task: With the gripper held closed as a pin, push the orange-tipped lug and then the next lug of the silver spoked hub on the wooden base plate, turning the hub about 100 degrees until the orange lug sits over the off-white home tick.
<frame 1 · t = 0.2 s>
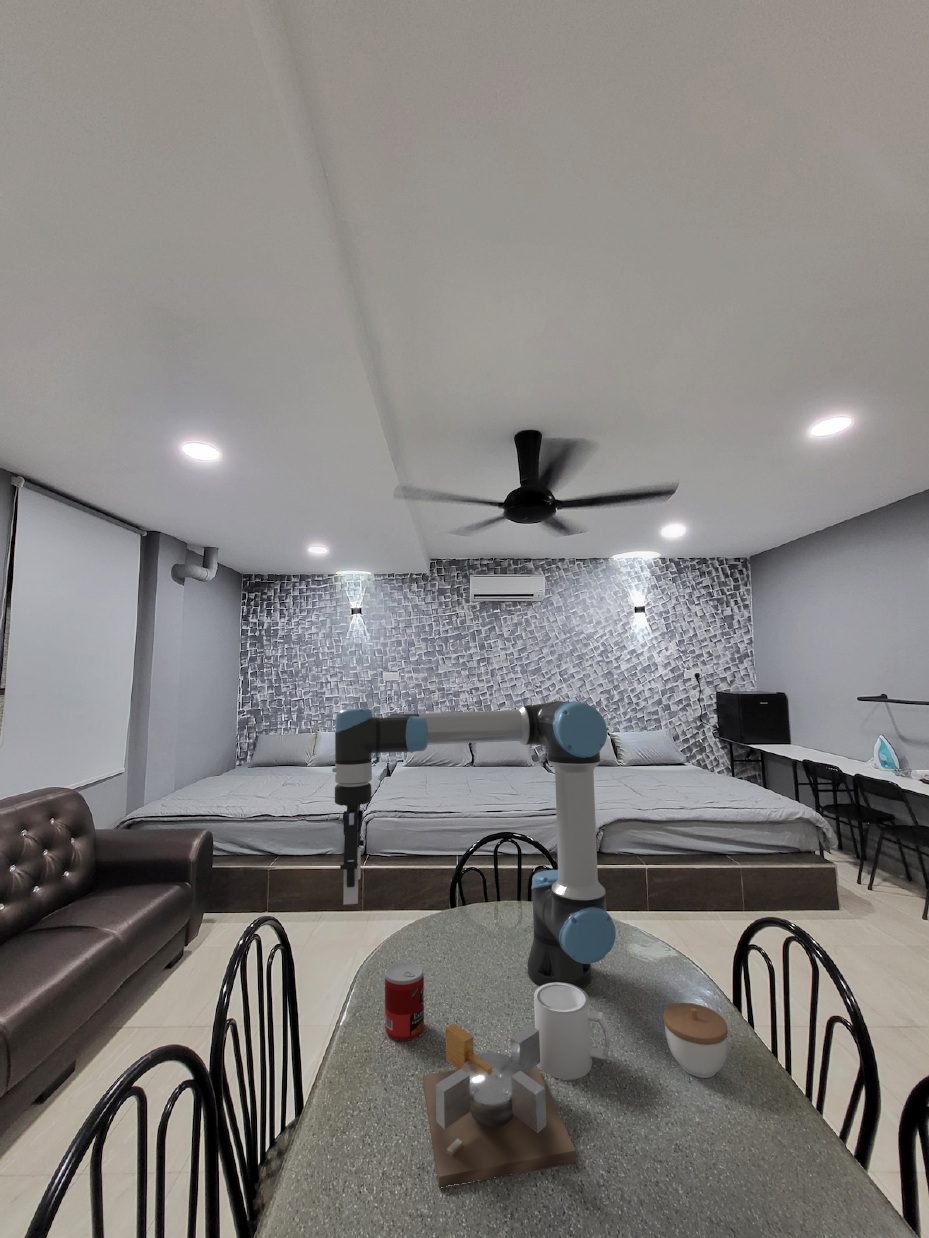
hand: (352, 890, 109), 28 cm above the table, fingers open, 13 cm apart
lidded jar: (697, 1067, 96), on the table
silver spoked hub: (491, 1072, 86), point 7 cm above the table, hinge at 0.0°
wooden base plate: (492, 1119, 85), on the table
canned food: (404, 1030, 108), on the table
mug: (569, 1062, 98), on the table
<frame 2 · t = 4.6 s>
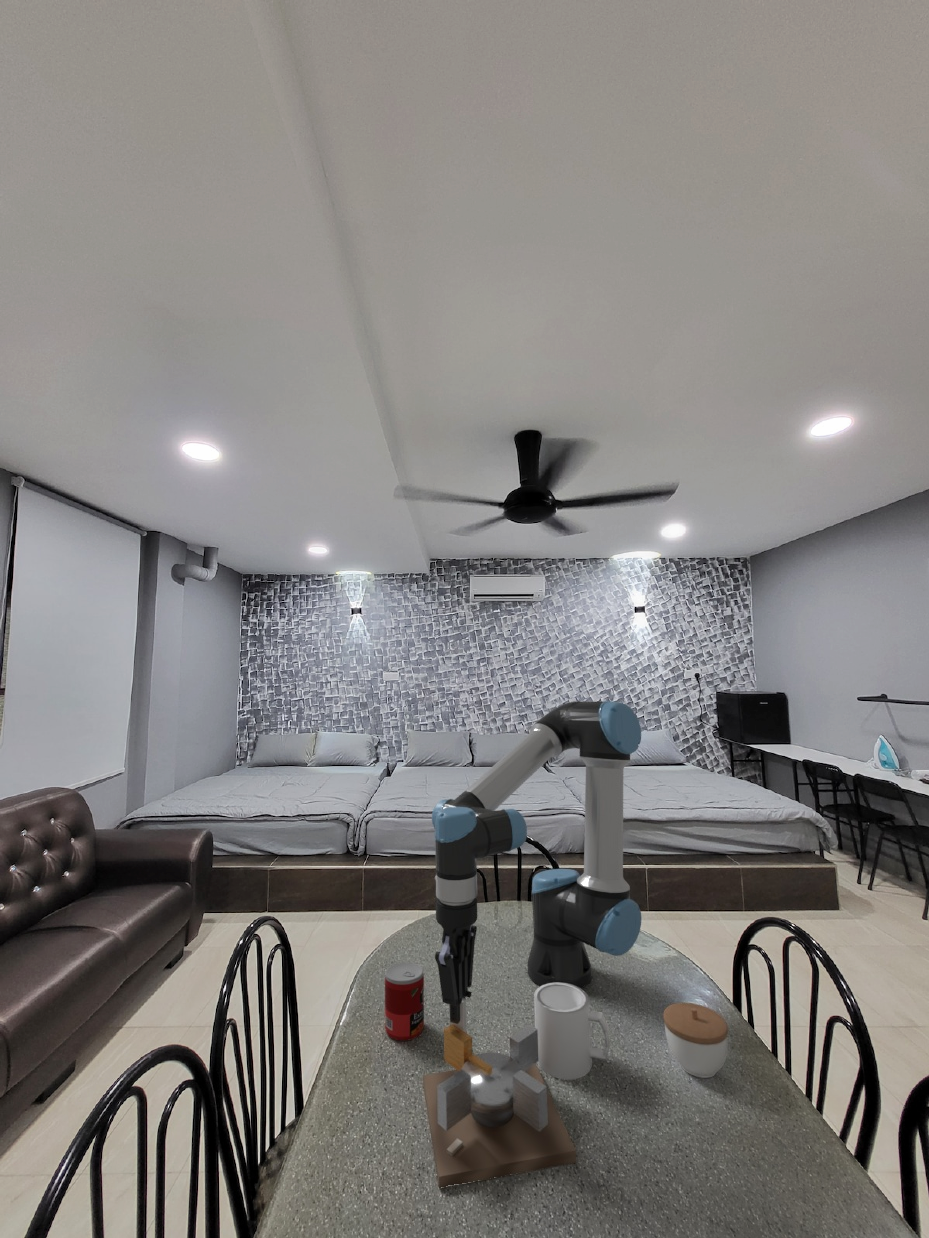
hand: (458, 1038, 94), 7 cm above the table, fingers closed
silver spoked hub: (491, 1072, 86), point 7 cm above the table, hinge at 2.3°, touching gripper
everything else where it was.
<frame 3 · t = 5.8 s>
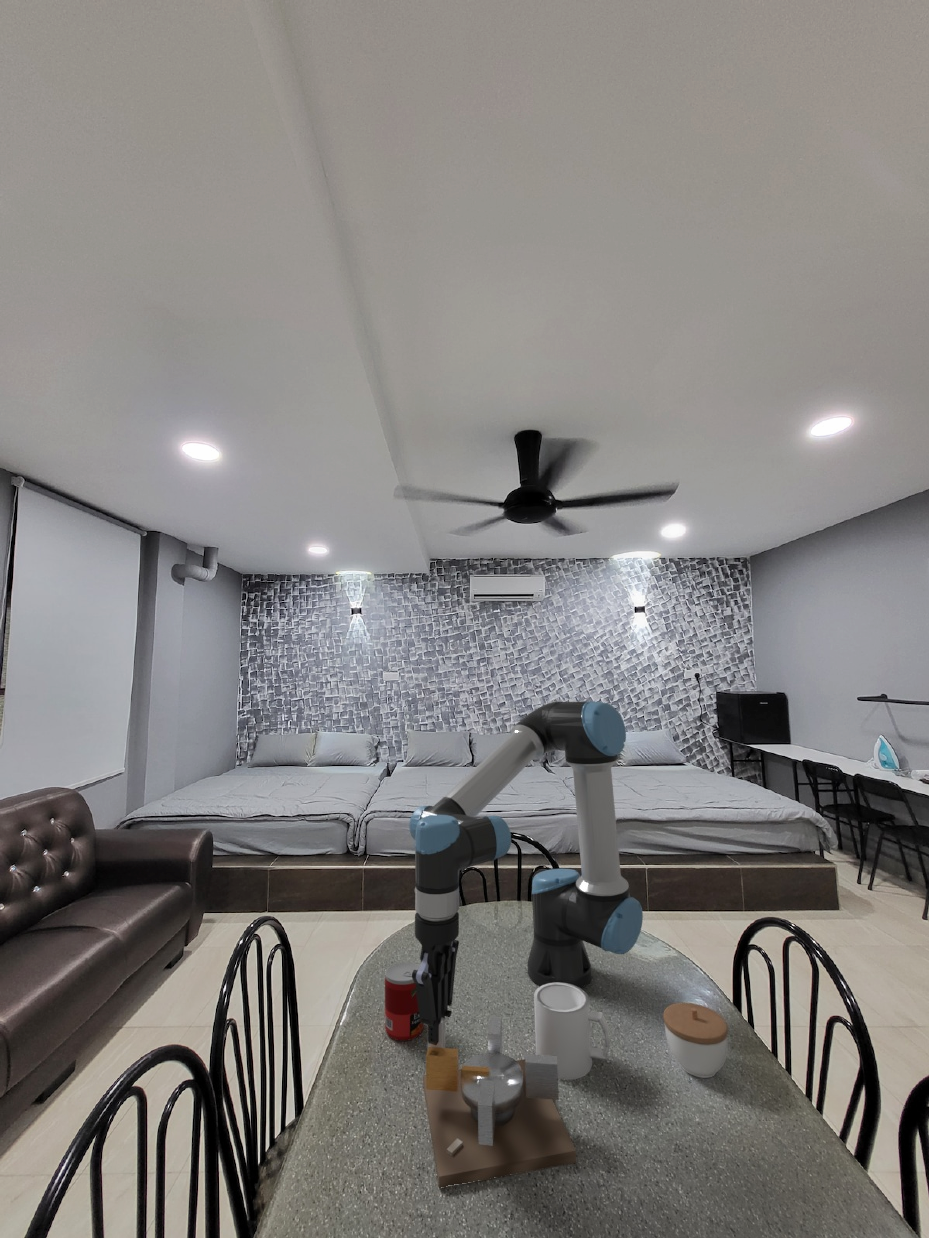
hand: (436, 1059, 89), 7 cm above the table, fingers closed
silver spoked hub: (491, 1072, 86), point 7 cm above the table, hinge at 41.7°, touching gripper
everything else where it was.
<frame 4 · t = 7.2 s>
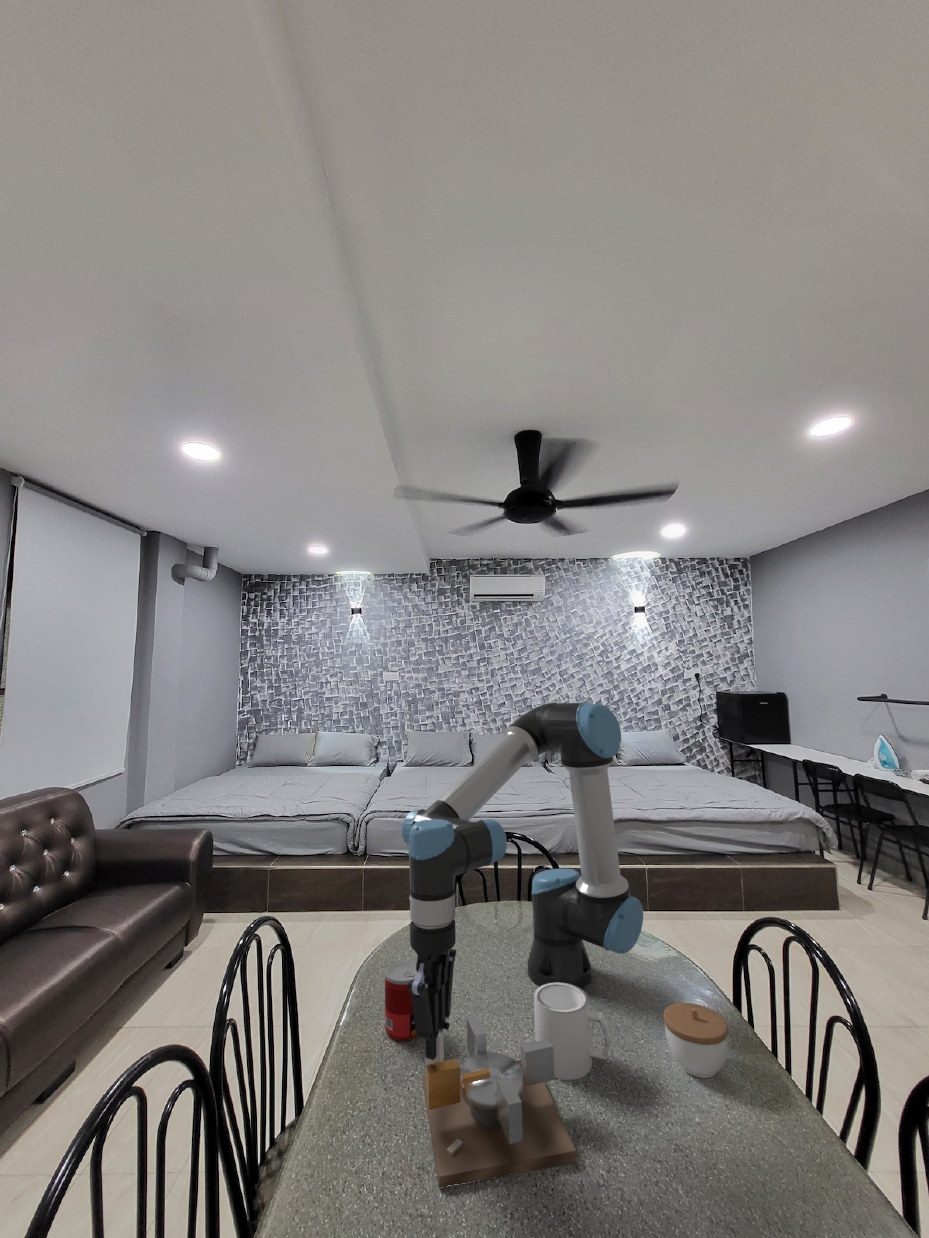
hand: (434, 1075, 85), 7 cm above the table, fingers closed
silver spoked hub: (491, 1072, 86), point 7 cm above the table, hinge at 65.4°, touching gripper
everything else where it was.
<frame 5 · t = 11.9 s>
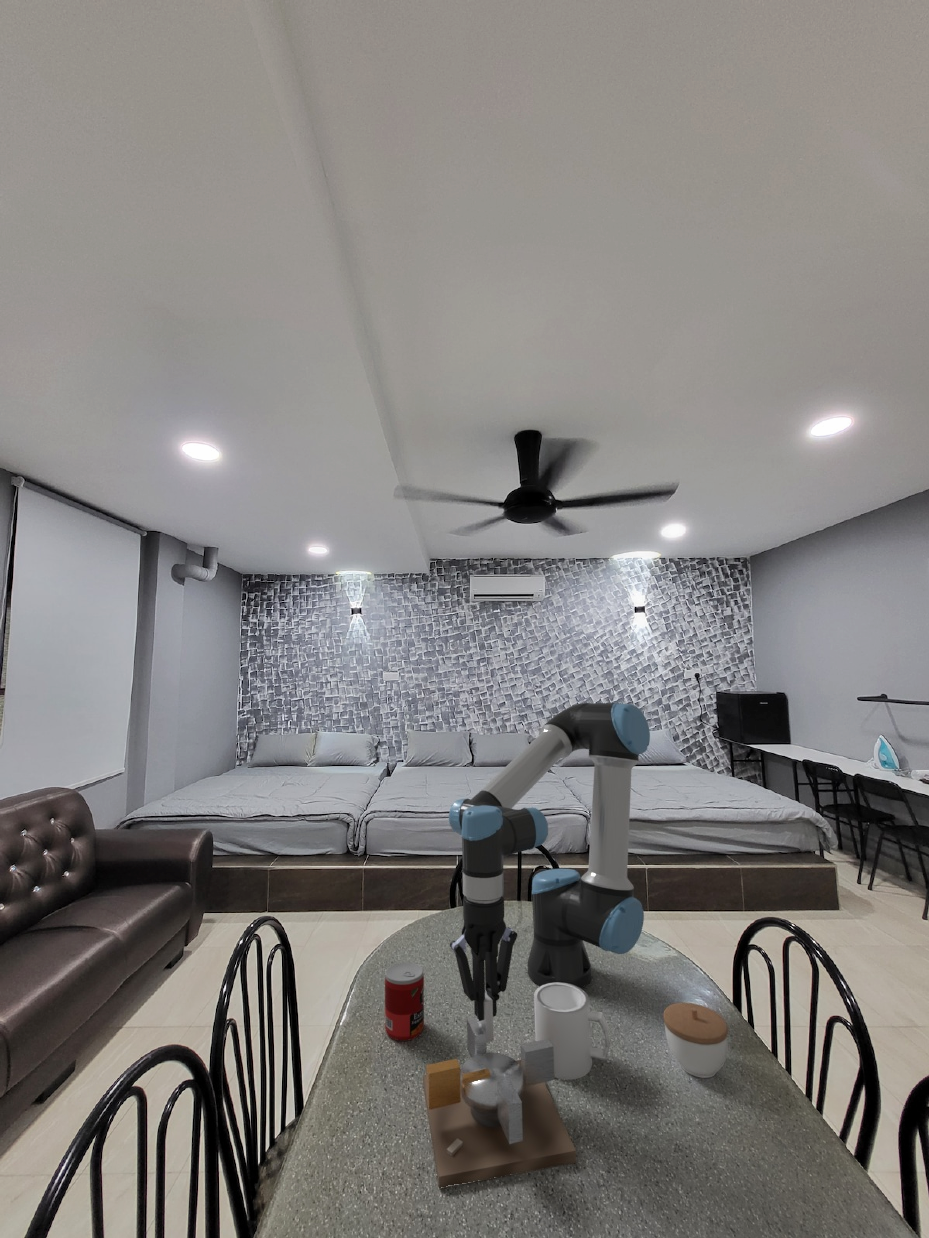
hand: (486, 1036, 94), 7 cm above the table, fingers closed
nothing on the table moved.
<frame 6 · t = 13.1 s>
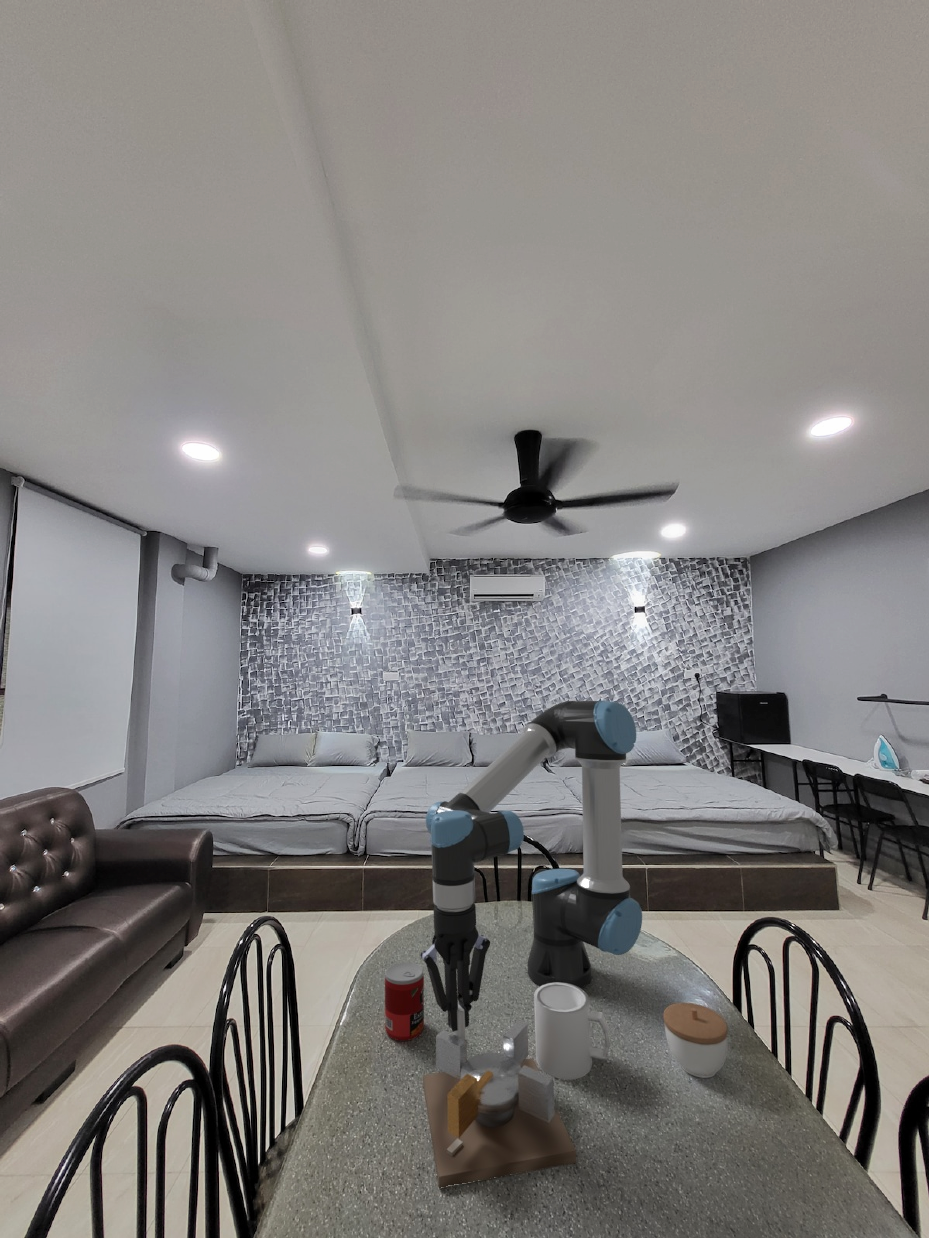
hand: (459, 1047, 92), 7 cm above the table, fingers closed
silver spoked hub: (491, 1072, 86), point 7 cm above the table, hinge at 104.5°, touching gripper
everything else where it was.
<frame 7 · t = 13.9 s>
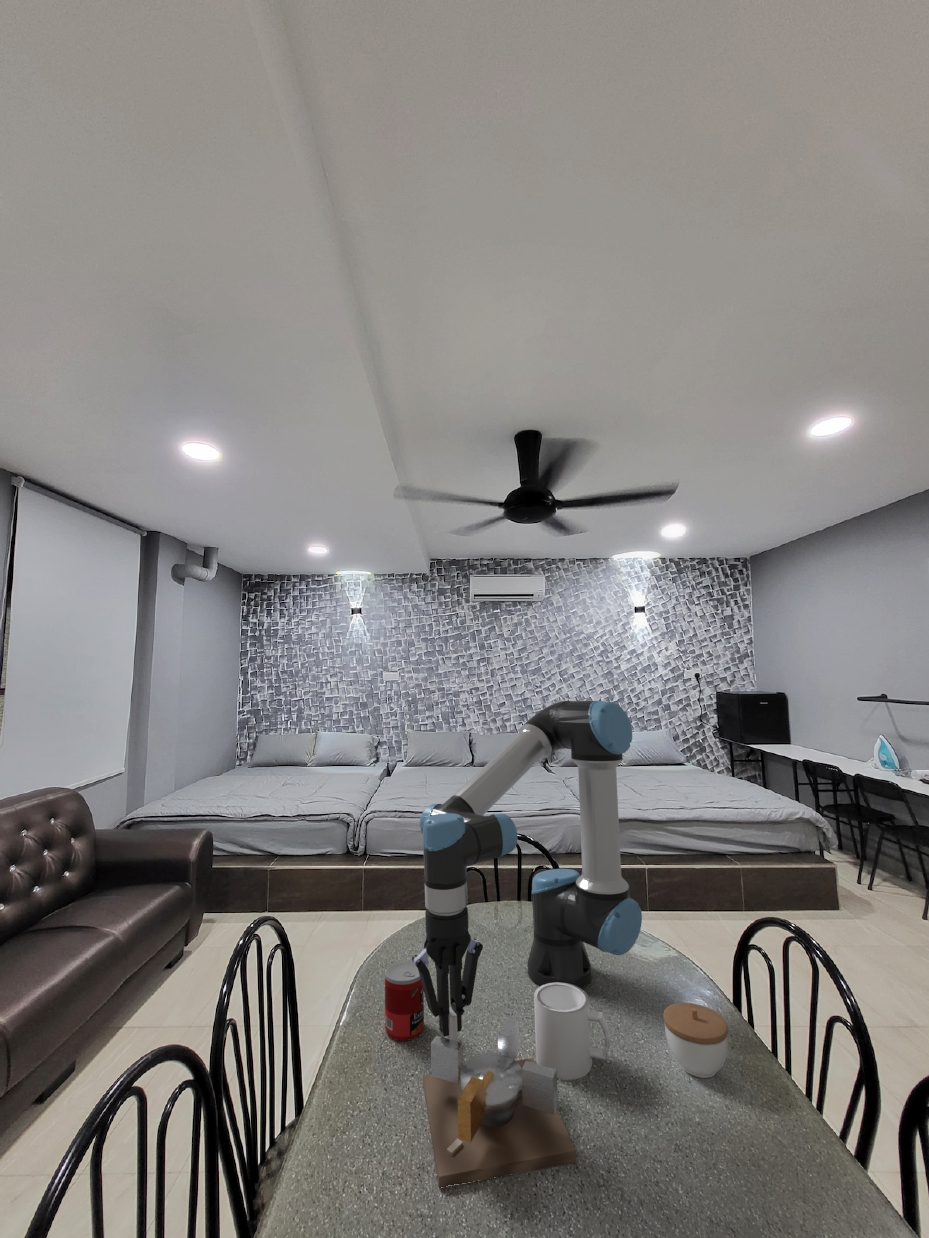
hand: (451, 1052, 91), 6 cm above the table, fingers closed
silver spoked hub: (491, 1072, 86), point 7 cm above the table, hinge at 114.5°, touching gripper
everything else where it was.
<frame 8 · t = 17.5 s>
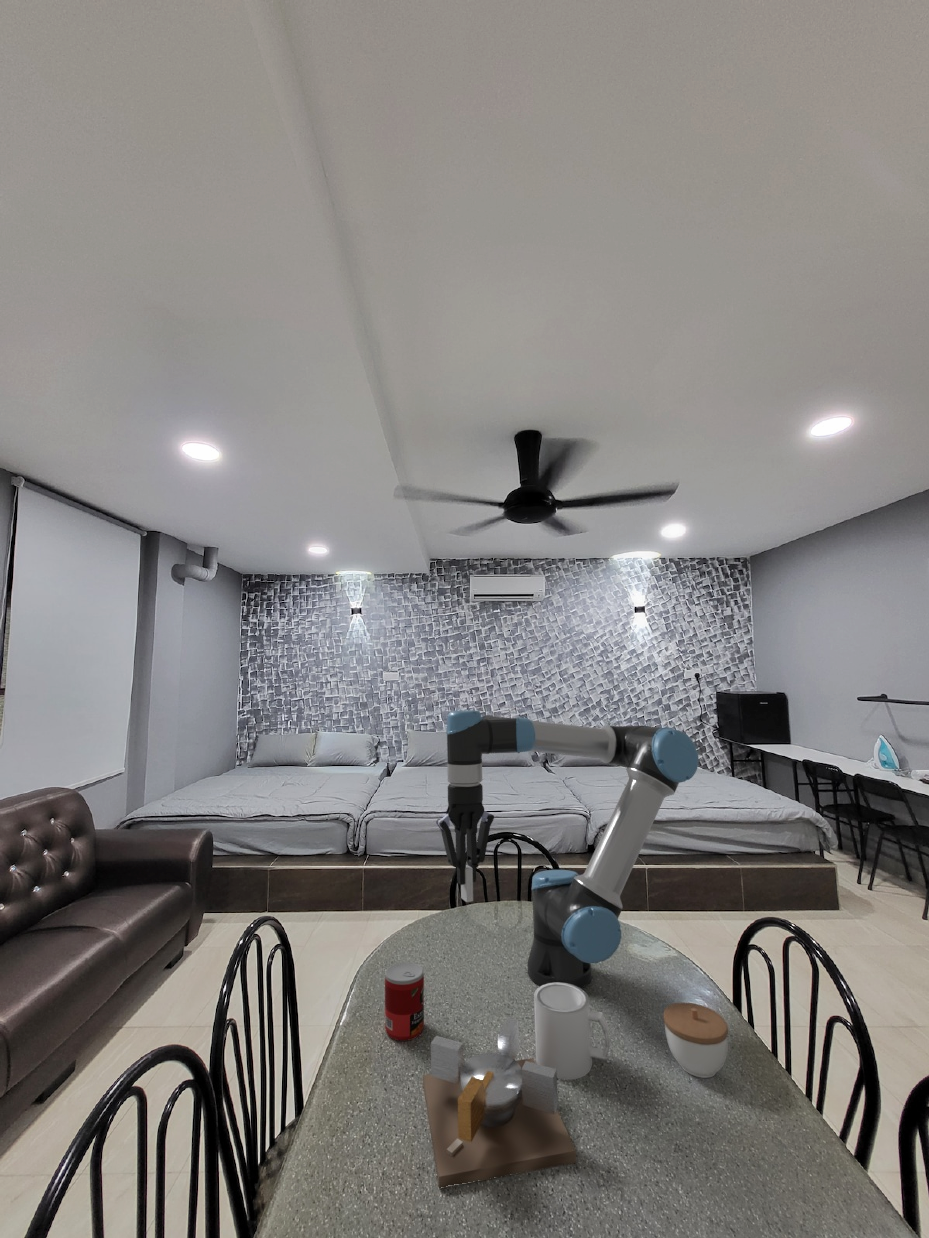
hand: (467, 899, 111), 24 cm above the table, fingers closed
silver spoked hub: (491, 1072, 86), point 7 cm above the table, hinge at 114.7°
everything else where it was.
at the end: silver spoked hub at +115° (first picture: +0°) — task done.
